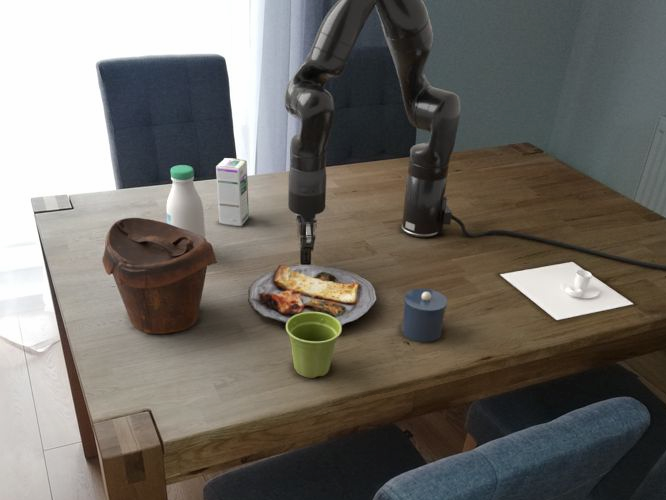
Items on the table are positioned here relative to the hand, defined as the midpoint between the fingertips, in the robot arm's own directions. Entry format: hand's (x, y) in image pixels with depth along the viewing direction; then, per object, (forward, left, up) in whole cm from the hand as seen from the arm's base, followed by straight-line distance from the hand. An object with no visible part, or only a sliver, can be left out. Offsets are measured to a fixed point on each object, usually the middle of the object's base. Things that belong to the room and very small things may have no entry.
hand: (305, 263), depth 153 cm
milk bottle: (+25, -7, -2) cm, 26 cm away
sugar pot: (-20, +25, -2) cm, 32 cm away
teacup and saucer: (-55, +10, -2) cm, 56 cm away
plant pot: (+2, +36, -2) cm, 36 cm away
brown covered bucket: (+28, +18, -2) cm, 33 cm away
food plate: (0, +14, -2) cm, 14 cm away
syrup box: (+15, -26, -2) cm, 30 cm away
